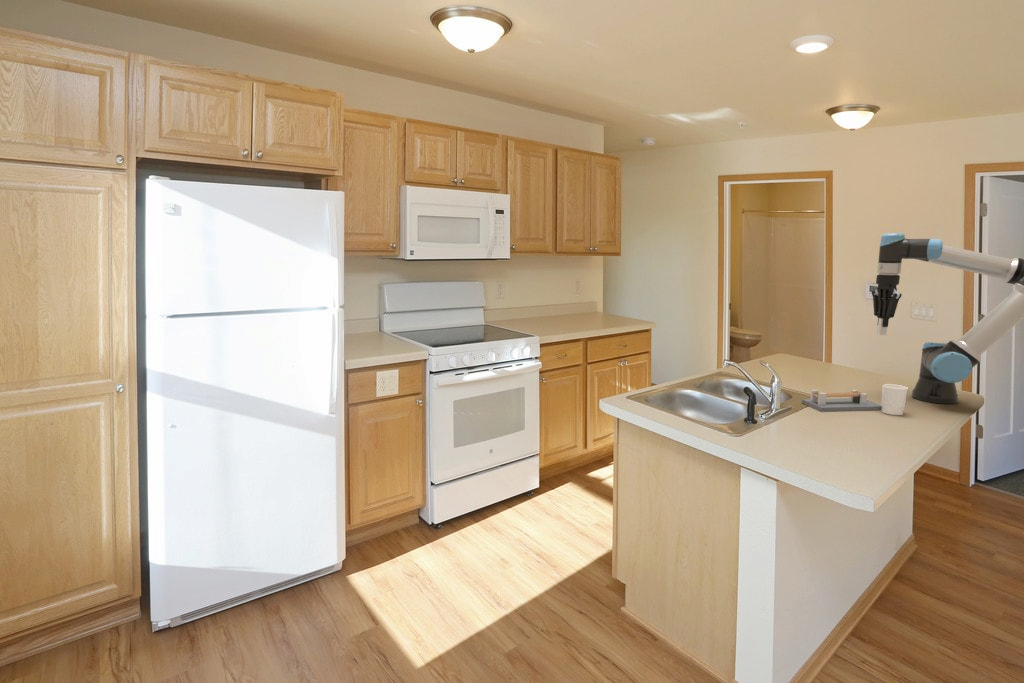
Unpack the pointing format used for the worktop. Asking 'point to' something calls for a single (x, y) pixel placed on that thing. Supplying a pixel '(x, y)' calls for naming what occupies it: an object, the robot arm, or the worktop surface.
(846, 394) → the strap
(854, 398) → the mount
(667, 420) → the worktop surface
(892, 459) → the worktop surface
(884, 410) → the white cup
